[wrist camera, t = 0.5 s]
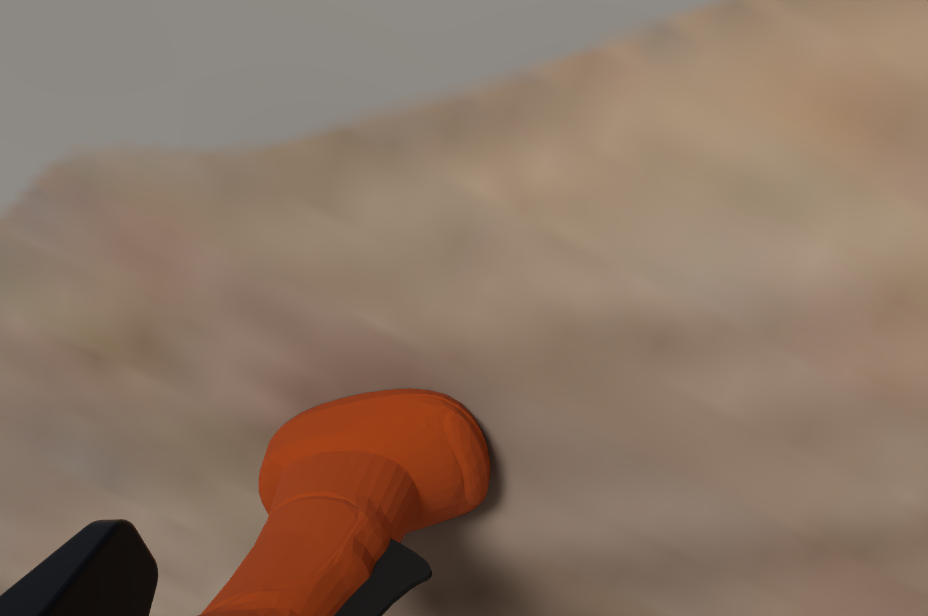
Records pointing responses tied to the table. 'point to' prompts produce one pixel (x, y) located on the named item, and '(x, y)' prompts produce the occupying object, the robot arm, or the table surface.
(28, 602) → the robot arm
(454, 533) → the table surface
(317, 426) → the toy drill
